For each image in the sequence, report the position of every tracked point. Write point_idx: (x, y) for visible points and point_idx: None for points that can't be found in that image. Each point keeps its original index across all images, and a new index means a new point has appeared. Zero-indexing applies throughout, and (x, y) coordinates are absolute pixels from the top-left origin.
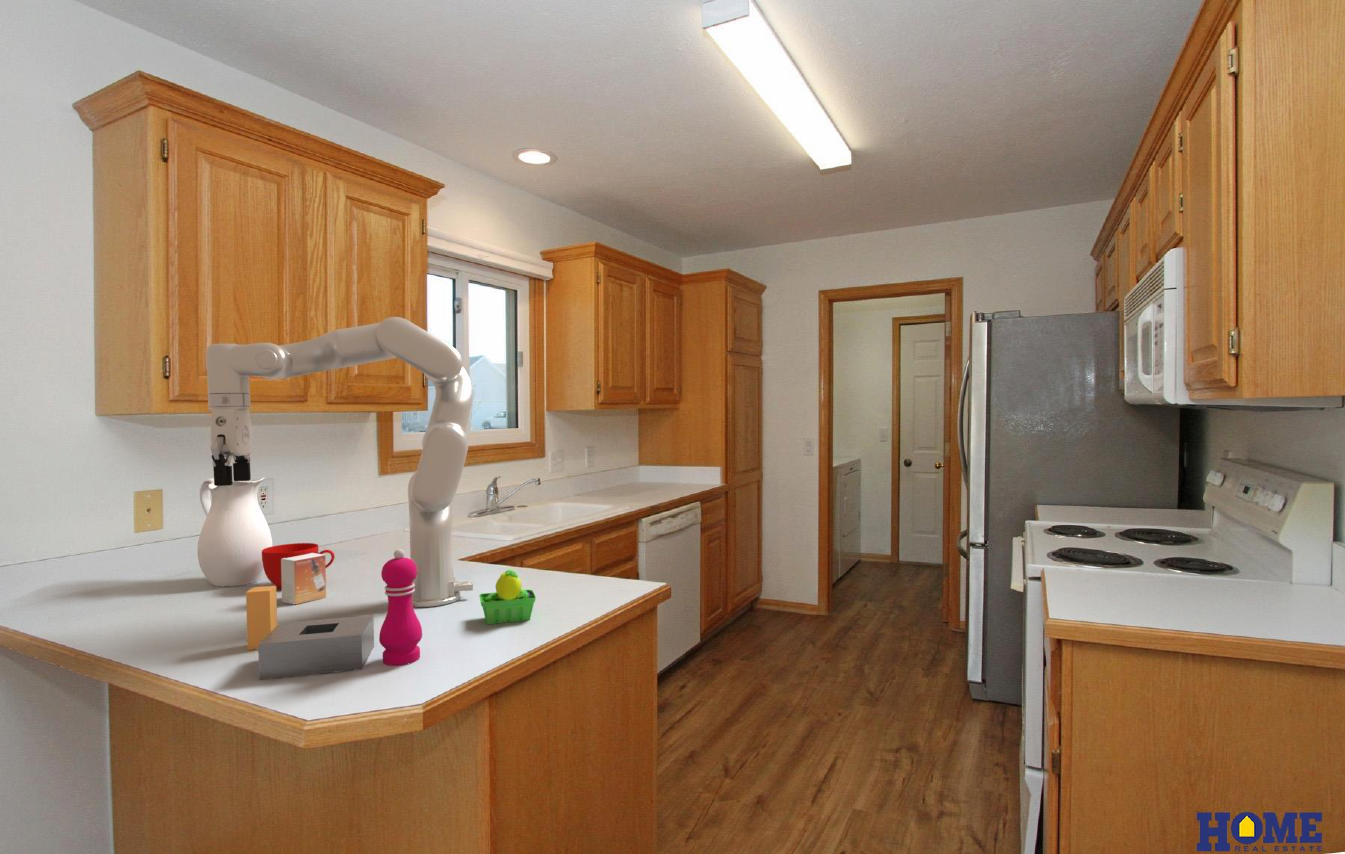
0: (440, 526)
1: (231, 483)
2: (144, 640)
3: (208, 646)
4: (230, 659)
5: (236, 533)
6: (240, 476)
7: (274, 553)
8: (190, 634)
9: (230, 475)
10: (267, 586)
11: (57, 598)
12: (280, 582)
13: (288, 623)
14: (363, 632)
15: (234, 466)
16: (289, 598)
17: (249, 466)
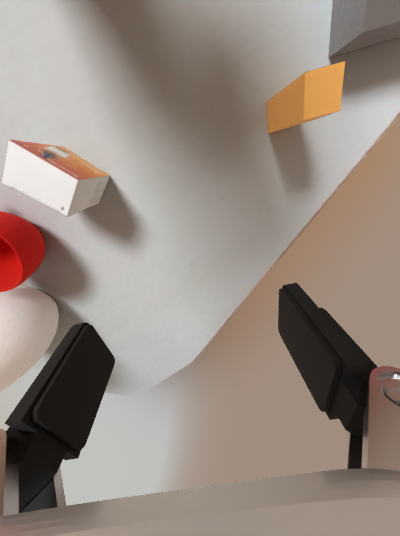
0: None
1: (297, 285)
2: (234, 261)
3: (266, 187)
4: (320, 129)
5: (1, 340)
6: (98, 360)
7: (21, 260)
8: (222, 232)
9: (321, 314)
10: (306, 90)
11: (120, 385)
12: (43, 240)
13: (373, 8)
14: None
15: (87, 428)
16: (103, 187)
17: (37, 389)
